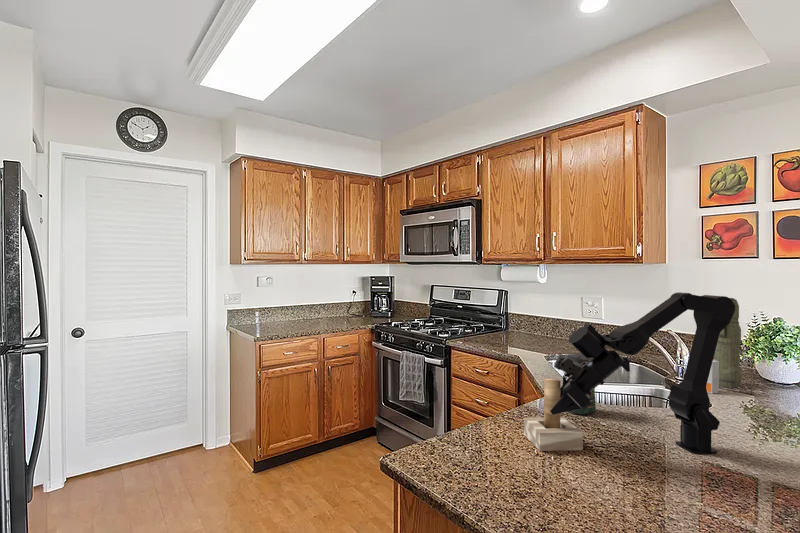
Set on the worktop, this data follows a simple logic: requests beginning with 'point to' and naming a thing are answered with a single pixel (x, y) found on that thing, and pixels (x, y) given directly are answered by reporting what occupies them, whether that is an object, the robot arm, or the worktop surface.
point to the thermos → (729, 352)
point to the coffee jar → (591, 408)
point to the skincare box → (713, 378)
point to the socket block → (553, 435)
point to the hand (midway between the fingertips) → (551, 407)
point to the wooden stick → (551, 403)
